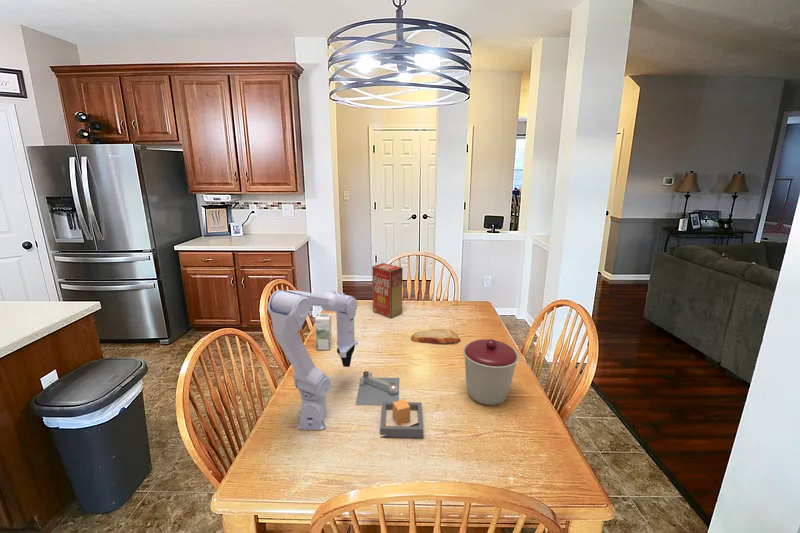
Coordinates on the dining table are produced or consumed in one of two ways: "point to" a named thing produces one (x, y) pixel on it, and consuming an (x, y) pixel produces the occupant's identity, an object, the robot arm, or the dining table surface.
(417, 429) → the tray
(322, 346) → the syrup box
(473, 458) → the dining table surface
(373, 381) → the crank
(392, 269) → the food packaging
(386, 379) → the crank board
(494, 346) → the canister
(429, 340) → the slice of bread
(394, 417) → the block
